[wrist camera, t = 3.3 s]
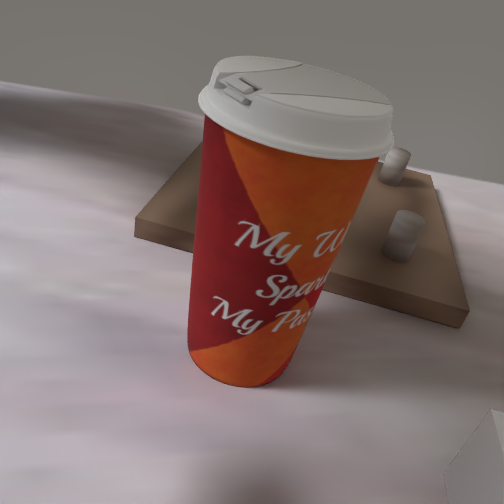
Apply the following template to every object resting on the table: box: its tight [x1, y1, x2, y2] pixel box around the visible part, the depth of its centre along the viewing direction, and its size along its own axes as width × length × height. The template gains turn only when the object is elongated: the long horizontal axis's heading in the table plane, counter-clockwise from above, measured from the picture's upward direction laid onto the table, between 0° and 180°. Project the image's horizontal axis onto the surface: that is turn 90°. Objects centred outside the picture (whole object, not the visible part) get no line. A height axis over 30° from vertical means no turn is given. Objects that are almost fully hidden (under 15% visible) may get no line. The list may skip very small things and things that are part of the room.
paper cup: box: [188, 56, 394, 387], centre depth 22 cm, size 8×8×14 cm
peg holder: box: [134, 141, 470, 328], centre depth 39 cm, size 22×22×4 cm
